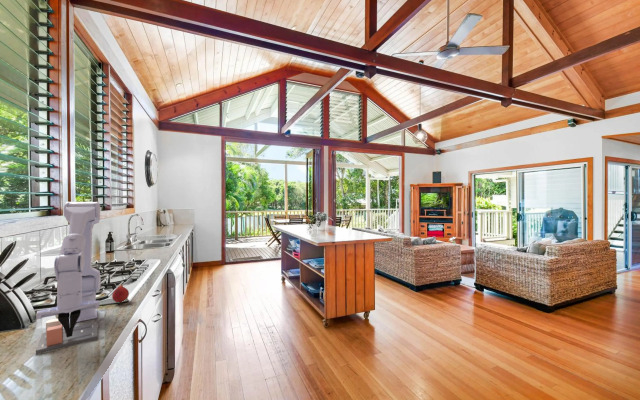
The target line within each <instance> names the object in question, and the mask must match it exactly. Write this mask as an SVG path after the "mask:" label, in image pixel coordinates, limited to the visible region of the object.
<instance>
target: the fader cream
mask: <svg viewBox="0 0 640 400" xmlns="http://www.w3.org/2000/svg"><path fill="white" fill-rule="evenodd" d="M58 325H62V324H61V323H60V322H59V320H58V317H57V318H52V319H48V320H46V322H45V333H46V338H47V329H48V328H49V327H53V326H58Z"/></svg>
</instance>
